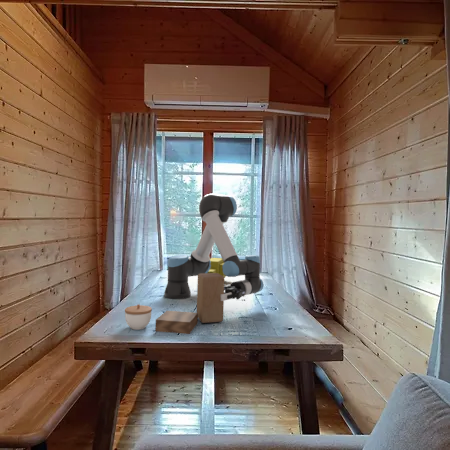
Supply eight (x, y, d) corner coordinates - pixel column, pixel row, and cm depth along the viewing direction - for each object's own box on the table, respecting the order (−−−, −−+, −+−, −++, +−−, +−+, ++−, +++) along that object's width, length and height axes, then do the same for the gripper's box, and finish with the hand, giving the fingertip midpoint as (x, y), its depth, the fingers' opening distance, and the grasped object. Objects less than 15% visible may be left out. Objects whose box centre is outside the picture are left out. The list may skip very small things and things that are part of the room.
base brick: (155, 332, 137) (155, 319, 137) (166, 321, 151) (166, 310, 151) (189, 334, 135) (189, 322, 135) (197, 324, 148) (197, 312, 148)
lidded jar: (135, 321, 148) (135, 300, 148) (156, 325, 144) (156, 303, 144) (118, 329, 138) (119, 305, 138) (140, 333, 134) (141, 309, 134)
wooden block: (223, 322, 149) (225, 276, 148) (201, 323, 146) (202, 277, 145) (217, 315, 158) (218, 272, 158) (196, 316, 155) (197, 273, 155)
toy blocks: (212, 257, 257) (233, 258, 254) (211, 278, 258) (233, 280, 254) (199, 263, 223) (223, 264, 220) (198, 287, 223) (223, 289, 220)
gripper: (260, 300, 160) (231, 309, 143) (221, 291, 176) (190, 298, 160) (261, 284, 159) (231, 291, 143) (221, 277, 176) (191, 282, 160)
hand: (210, 295), depth 151 cm, fingers closed on wooden block, 13 cm apart
